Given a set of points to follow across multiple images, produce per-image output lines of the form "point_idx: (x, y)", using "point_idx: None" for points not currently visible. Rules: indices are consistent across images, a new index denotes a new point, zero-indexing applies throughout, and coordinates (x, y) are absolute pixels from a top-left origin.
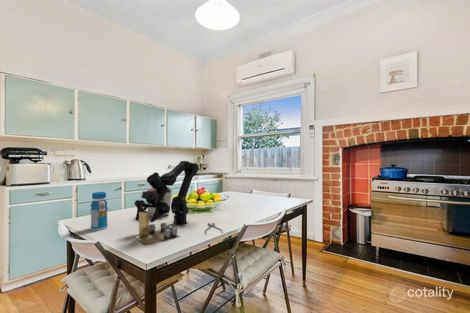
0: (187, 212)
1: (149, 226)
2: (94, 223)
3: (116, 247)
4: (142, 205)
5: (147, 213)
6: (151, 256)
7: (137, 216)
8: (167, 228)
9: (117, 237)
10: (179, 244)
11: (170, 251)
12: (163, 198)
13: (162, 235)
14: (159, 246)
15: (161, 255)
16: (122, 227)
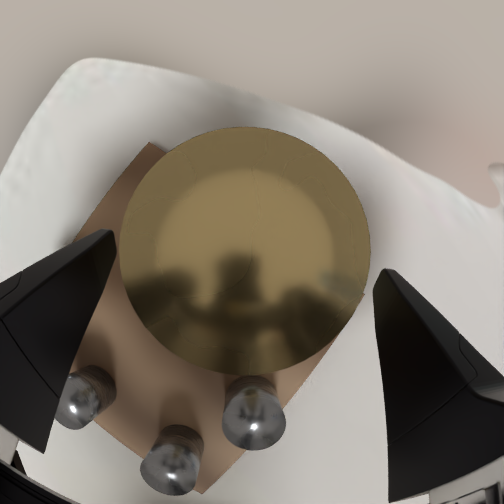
0: None
1: (263, 395)
2: None
3: (324, 123)
4: (485, 501)
5: (132, 233)
6: (77, 92)
7: (399, 297)
8: (74, 378)
9: (446, 273)
10: (5, 253)
11: (20, 161)
12: None
13: (128, 354)
14: (78, 195)
15: (44, 115)
16: None
